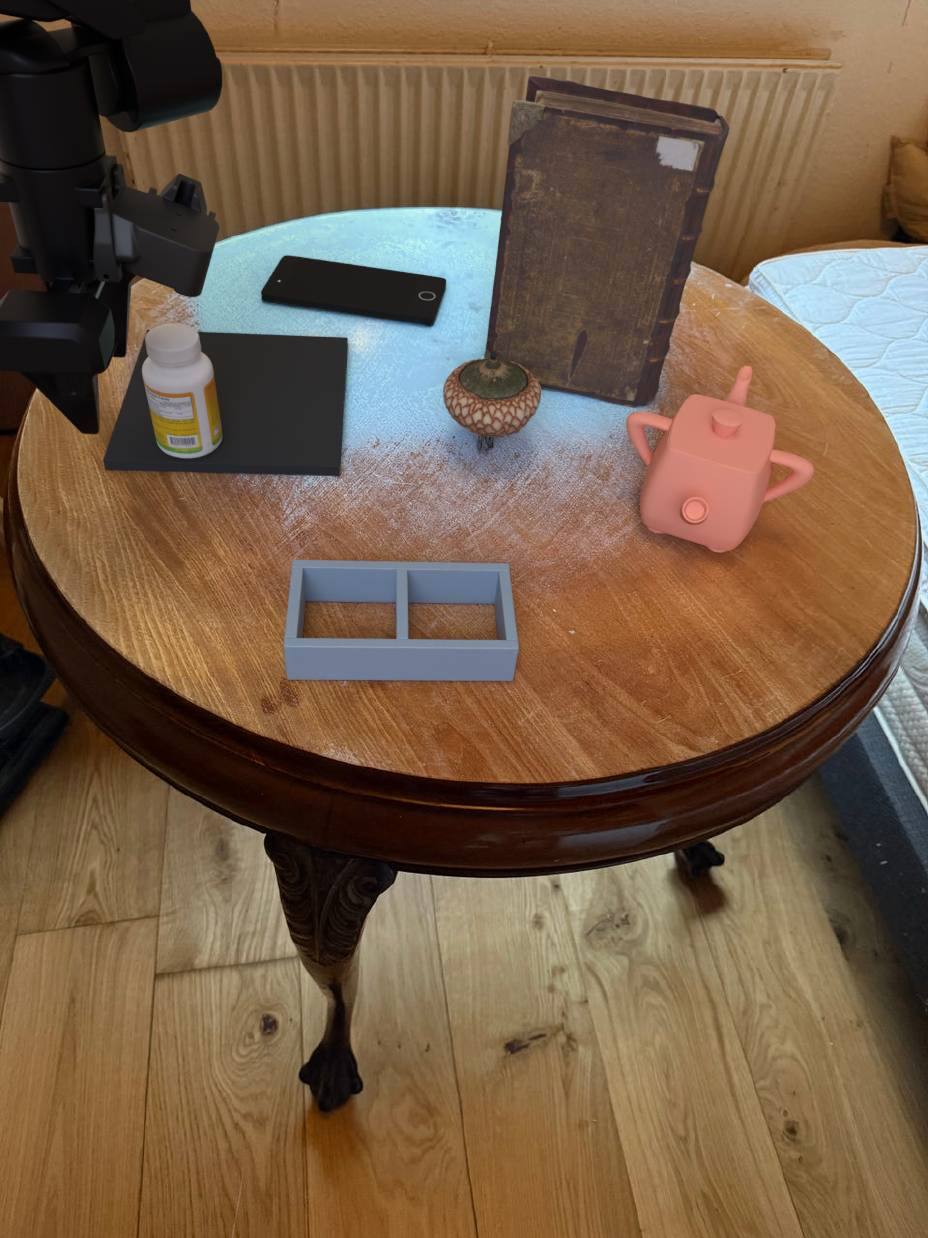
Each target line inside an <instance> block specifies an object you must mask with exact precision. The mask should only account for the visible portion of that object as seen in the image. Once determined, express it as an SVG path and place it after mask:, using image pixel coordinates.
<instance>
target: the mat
mask: <svg viewBox="0 0 928 1238" xmlns="http://www.w3.org/2000/svg"><path fill="white" fill-rule="evenodd" d="M150 330H151V329H147V330H146V332H145V336H144V338H143V341H142V344H141V346H140V350H139V353H138V355H137V359H136V362H135V365H134V368H133V371H132V373H131V376H130V379H129V382H128V385H127V388H126V391H125V395H124V397H123V400H122V403H121V406H120V409H119V412H118V415H117V418H116V421H115V424H114V427H113V430H112V433H111V436H110V438H109V441H108V444H107V448H106V450H105V453H104V456H103V460H102V463H103V466H104V469H105V471H130V472H131V471H132V472H133V471H134V472H169V473H170V472H171V473H175V472H176V473H206V474H207V473H208V474H209V473H210V474H250V475H252V474H253V475H254V474H255V475H286V476H287V475H290V476H325V477H326V476H329V477H340V476H341V465H342V464H341V463H342V449H343V448H342V447H343V431H344V415H345V399H346V398H345V397H346V385H347V384H346V382H347V368H348V367H347V366H348V352H349V351H348V350H349V349H348V348H349V338H348V337H346V336H345V337H343V336H320V335H293V334H292V335H291V334H290V335H289V334H270V333H269V334H268V333H266V334H265V333H244V332H243V333H242V332H219V331H218V332H215V331H197V332H198V334H199V339H200V344H201V352H202V353H204V354H205V355H206V356H207V357H208V358H209V359H210V361H211V363H212V366H213V371H214V378H215V385H216V392H217V399H218V406H219V413H220V419H221V426H222V441H221V443H220V445H219V446H218V447H217V448H216V449H215V450H214V451H212V452H211V453H209V454H207V455H204V456H201V457H197V458H178V457H174V456H171V455H168V454H166V453H165V452H163V451H162V450H161V449H160V447H159V446H158V444H157V441H156V437H155V432H154V428H153V423H152V418H151V413H150V408H149V404H148V399H147V395H146V390H145V385H144V380H143V375H142V366H143V364H144V361H145V360H146V359H147V358H148V357H149V356H148V354H147V349H146V342H145V337H146V334H147V333H148V332H149V331H150Z"/></svg>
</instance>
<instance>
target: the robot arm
mask: <svg viewBox="0 0 928 1238" xmlns="http://www.w3.org/2000/svg"><path fill="white" fill-rule="evenodd" d="M0 15H3V16H8V17H12V18H15V19H10V20H4V21H0V203H8V205H9V211H10V214H11V217H12V220H13V224H14V229H15V232H16V235H17V239H18V243H16V245H15V247H14V249H13V251H12V252H11V254H10V255H9V257H10V261H11V264H12V268H13V272H14V274H28V275H29V274H30V275H38V278H39V280H41V281H44V282H47V283H52V284H51V285H50V288H49V289H48V290H29V289H28V290H27V289H8V291H7V292H6V293H5V295H4V296H2V298H1V299H0V371H1V372H9V373H11V372H12V373H18V374H19V375H21V376H22V377H23V378H24V379H25V380H27V382H29V383H30V384H31V385H32V386H34V388H36V389H37V390H38V391H39V392H40V393H41V394H42V395H43V396H44V397H45V398H46V399H47V400H48V401H49V402H50V403H51V404H52V405H53V406H54V407H55V408H56V409H57V410H58V411H59V412H60V413H61V414H62V415H63V416H64V417H65V418H66V419H67V420H68V421H69V422H70V423H71V424H72V425H73V426H74V427H75V429H77V431H78V432H79V433H81V434H83V435H98V434H99V432H100V431H101V423H100V420H101V419H100V417H101V415H100V414H101V413H100V392H99V391H100V390H99V389H100V388H99V375H100V374H103V373H104V372H106V370H107V369H108V368H109V367H110V365H111V363H112V360H113V358H120V359H121V358H122V359H123V358H125V357H126V356H127V353H128V341H129V340H128V339H129V326H130V325H129V324H130V311H131V297H132V296H131V294H132V284H133V282H132V281H133V280H134V279H135V277H140V278H142V279H146V280H148V281H151V282H154V283H156V284H159V285H162V286H165V287H166V288H170V289H172V290H173V291H174V293H176V294H178V295H180V296H183V297H187V298H197V297H200V296H201V295H202V293H203V288H204V287H205V286H204V285H205V281H206V278H207V275H208V272H209V268H210V264H211V260H212V257H213V253H214V249H215V246H216V242H217V238H218V235H219V231H220V224H219V223H218V221H217V220H216V216H217V213H216V212H213V211H212V210H209V212H208V206H207V200H206V197H205V194H204V189H203V185H202V182H201V181H199V180H197V179H194V178H192V177H189V176H187V175H184V174H182V173H178V174H176V175H175V177H173V178H172V180H170V181H169V183H168V184H166V185H165V186H164V188H162V189H161V191H160V193H159V194H157V192H158V189H157V188H154V187H153V186H150V187H149V190H148V192H145V191H142V190H139V189H136V188H133V187H130V186H128V185H127V184H128V183H127V181H126V176H125V169H124V165H123V164H122V163H118V159H117V156H116V155H109V154H107V151H106V145H105V139H104V134H103V129H102V122H101V118H100V116H101V117H102V118H105V119H106V120H107V121H108V122H109V123H110V124H111V125H112V126H114V127H115V128H116V129H117V130H119V131H121V132H124V133H134V132H137V131H142V130H145V129H149V128H153V127H158V126H161V125H165V124H167V123H171V122H175V121H179V120H182V119H185V118H186V119H187V118H189V117H193V116H197V115H200V114H204V113H207V112H210V111H212V110H213V109H214V108H215V107H216V106H217V105H218V104H219V100H220V98H221V95H222V89H223V69H222V68H223V67H222V62H221V60H220V58H219V57H218V56H217V54H216V50H215V46H214V44H213V42H212V39H211V36H210V34H209V33H208V31H207V29H206V27H205V26H204V24H203V22H202V21H201V20H200V18H199V17H198V16H197V14H196V13H195V12H194V11H193V10H192V3H191V0H0ZM61 20H64V21H66V22H69V23H70V27H65V28H60V29H53V30H47V29H45V28H44V27H43V26H42V25H41V24H39V22H40V23H54V22H58V21H61Z"/></svg>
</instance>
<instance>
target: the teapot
mask: <svg viewBox="0 0 928 1238" xmlns="http://www.w3.org/2000/svg"><path fill="white" fill-rule="evenodd" d="M753 373H754V371H753V368H752V366H750V365H744V366H742V367H741V368H740V369H739V370H738V372H737V374H736V377H735V378H734V382H733V383H732V386H731V388H730V389H729V391H728V393H727V395H726V397H725V398H724V400H722V399H718V398H714V397H712V396H711V397H710V396H707V395H703V394H698V393H695V394H691V395H690V396H688V397H687V398H686V399H685V400H684V401H683V403H682V405H681V406H680V408H679V409H678V410H677V412H676V413H675V415H674V417H673V418H669V417H667V416H664V415H661V414H659V413H658V414H657V413H654V412H650V411H643V410H636V411H633V412H630V414H628V416H627V418H626V420H625V428H626V432H627V435H628V438H629V440H630V442H631V444H632V445H633V447H634V449H635V450H636V452H637V454H638V455H639V457H640V459H642V461H643V463H644V464H645V465H646V467H647V468H646V472H645V476H644V479H643V482H642V485H641V491H640V497H639V514H640V518H641V519H640V520H641V523H643V525H644V526H646V527H647V529H648V530H649V531H651V532H652V533H654V534H667V535H670V536H673V537H675V538H679V539H682V540H685V541H688V542H692V543H694V544H698V545H702V546H705V547H706V548H707V549H709V550H710V551H711V552H715V553H720V554H721V553H726V552H729V551H730V552H731V551H732V550H734V549H736V548H737V547H738V546H739V545H740V544H741V543H742V542H743V541H744V540H745V538H746V537H747V536H748V534H749V533H750V532H751V530H752V529H753V526H754V524H755V523H756V521H757V519H758V518H759V515H760V512H761V509H762V507H763V504H764V503H766V502H769V501H773V500H774V499H778V498H780V497H782V496H785V495H787V494H790V493H792V492H794V491H796V490H799V489H800V488H802V487H803V486H805V485H806V484H807V483H808V482H809V481H810V480H811V479H812V478H813V476H814V474H815V467H814V465H813V463H812V462H811V461H809V460H808V459H806V458H804V457H802V456H800V455H797V454H794V453H791V452H788V451H783V450H779V449H775V439H776V438H775V437H776V420H775V418H774V417H773V416H772V415H770V414H768V413H765V412H762V411H760V410H757V409H753V408H750V407H747V406H746V403H747V396H748V392H749V387H750V385H751V381H752V378H753ZM645 427H649V428H653V429H658V430H661V431H664V433H663V435H662V436H661V438H660V440H659V442H658V444H657V446H656V448H655V449H654V451H653V450H652V448H651V446H650V444H649V442H648V439H647V436H646V432H645ZM773 464H776V465H780V466H783V467H785V468H788V469H790V470H791V472H790V473H789V474H788V475H787V476H786V477H785V478H784V479H782V480H780V481H779V482H777V483H775V484H773V485H772V486H769V483H770V480H771V479H770V478H771V474H772V467H773Z"/></svg>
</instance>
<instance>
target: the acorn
mask: <svg viewBox="0 0 928 1238" xmlns="http://www.w3.org/2000/svg"><path fill="white" fill-rule="evenodd" d="M490 355H491V356H490V358H488V359H484V358H477V359H471V360H469V361H466V362H463V363H462V364H460V365H458V366H457V367H455V369H453V371H451V373H449V374H448V376H447V378H446V379H445V382H444V383H443V387H442V388H443V389H442V395H443V396H442V398H443V404H444V406H445V409H446V410H447V411H448V413H449V415H450V417H451V419H453V420H454V421H455V422H456V423H457V424H458V425H460V427H462V428H465V429H466V430H468V431H469V432H470V433H471V434H474V435H476V436H477V440H476V449H477V453H478V454H486V452H488V451H490V450H492V449H494V439H495V438H505V437H507V436H509V437H510V436H512V435H515V434H518V433H519V432H520V431H521V430H522V429H524V428H525V427H526V425H528V423H529V422H530V420H531V419H532V418H533V417H534V416H535V414H536V412H537V410H538V408H539V406H540V403H541V398H542V388H541V386H540V384H539V382H538V380H537V379H536V378H535V377H534V376H533V375H532V373H531V372H530V371H529V370H527V369H526V368H524V367H523V366H521V365H520V364H519V363H516V362H513V361H510V360H504V359H499V358H496V357H497V354H496V350H493V351H492V352H491V354H490Z"/></svg>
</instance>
